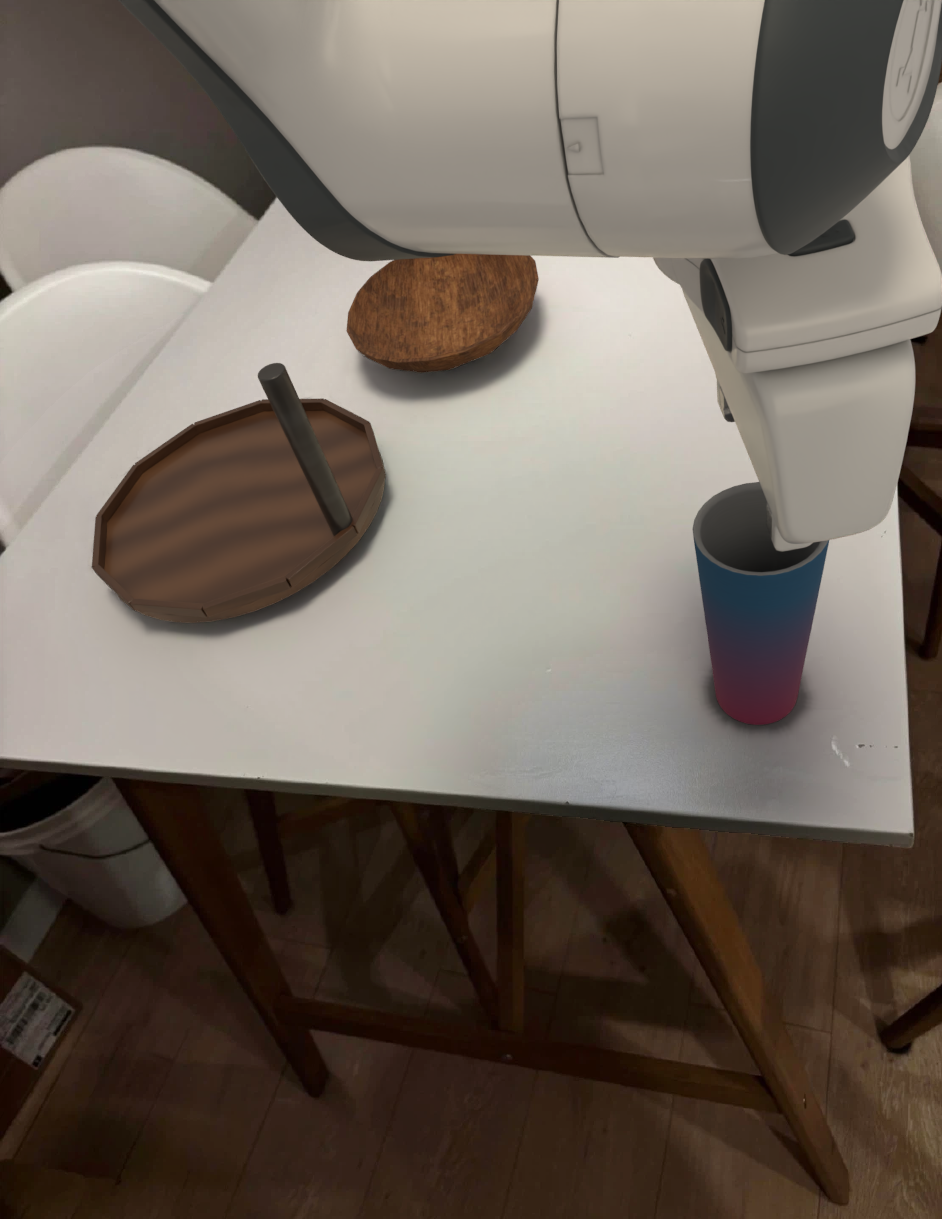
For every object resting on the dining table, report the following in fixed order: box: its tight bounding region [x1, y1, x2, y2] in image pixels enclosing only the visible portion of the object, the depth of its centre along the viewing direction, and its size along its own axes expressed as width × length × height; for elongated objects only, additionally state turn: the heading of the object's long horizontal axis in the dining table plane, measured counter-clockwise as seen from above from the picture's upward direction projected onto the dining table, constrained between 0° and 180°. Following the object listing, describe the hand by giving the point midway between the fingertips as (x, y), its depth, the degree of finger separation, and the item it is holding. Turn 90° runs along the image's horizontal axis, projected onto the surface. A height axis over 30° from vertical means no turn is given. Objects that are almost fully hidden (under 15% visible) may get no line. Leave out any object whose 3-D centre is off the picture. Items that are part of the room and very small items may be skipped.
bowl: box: [345, 254, 540, 374], centre depth 90 cm, size 20×22×5 cm
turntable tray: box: [91, 362, 387, 624], centre depth 73 cm, size 26×26×16 cm
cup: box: [692, 481, 830, 726], centre depth 51 cm, size 7×7×15 cm
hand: (762, 470), depth 43 cm, fingers open, 8 cm apart
